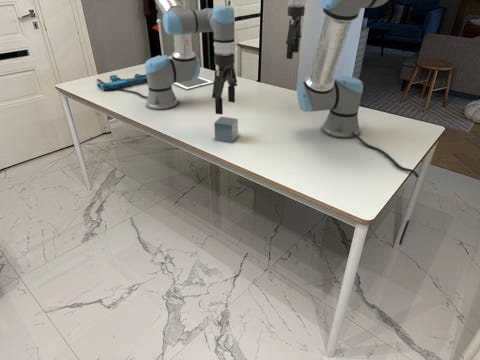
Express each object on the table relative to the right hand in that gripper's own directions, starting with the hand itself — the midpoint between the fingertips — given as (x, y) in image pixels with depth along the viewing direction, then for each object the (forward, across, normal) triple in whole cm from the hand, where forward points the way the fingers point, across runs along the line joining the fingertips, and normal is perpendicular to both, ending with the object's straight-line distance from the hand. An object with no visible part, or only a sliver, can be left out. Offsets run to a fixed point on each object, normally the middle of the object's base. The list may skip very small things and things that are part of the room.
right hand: (292, 55), depth 163 cm
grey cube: (+25, +47, -16) cm, 55 cm away
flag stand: (+25, -48, -102) cm, 116 cm away
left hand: (+12, +46, -16) cm, 51 cm away
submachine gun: (+25, -5, -104) cm, 107 cm away
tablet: (+25, -21, -70) cm, 77 cm away
